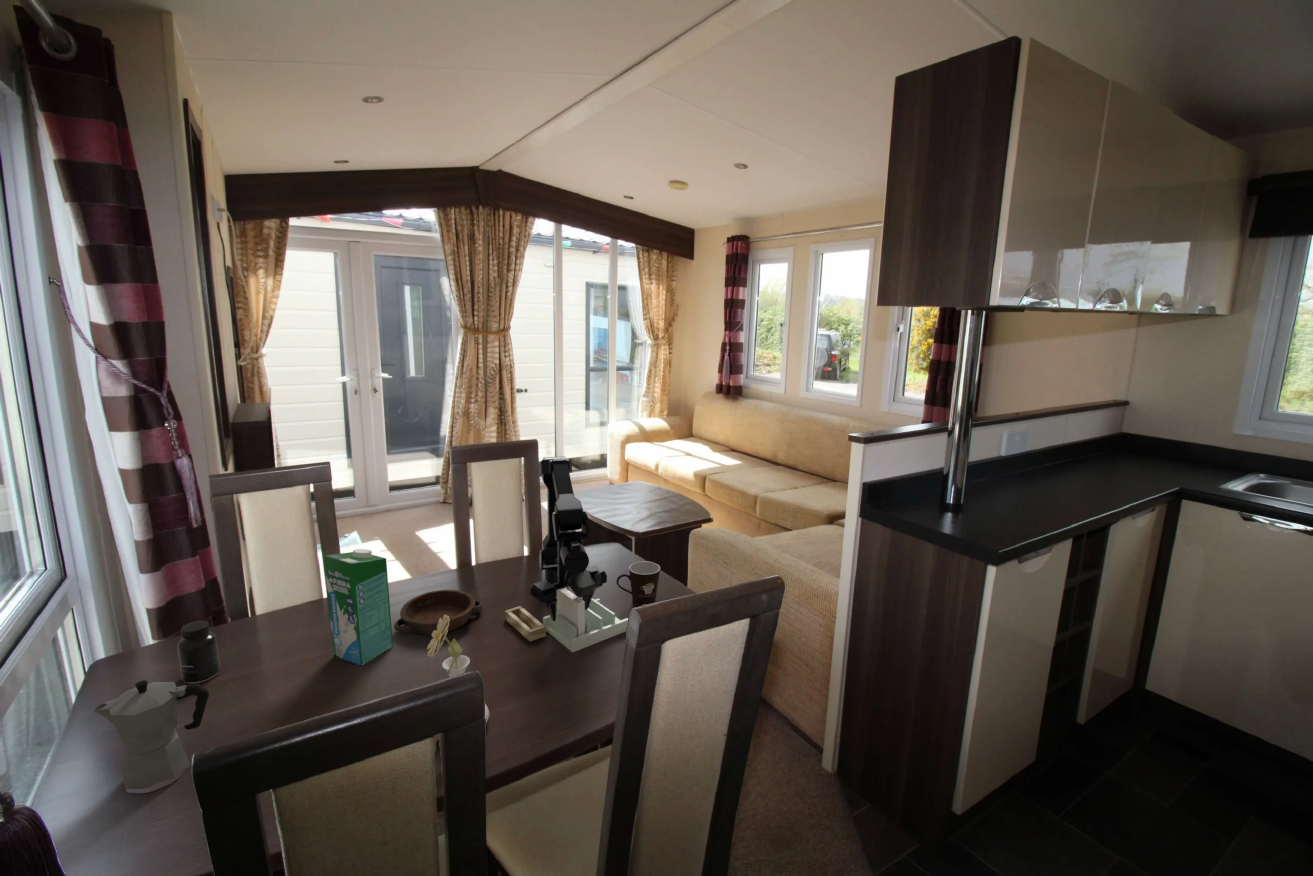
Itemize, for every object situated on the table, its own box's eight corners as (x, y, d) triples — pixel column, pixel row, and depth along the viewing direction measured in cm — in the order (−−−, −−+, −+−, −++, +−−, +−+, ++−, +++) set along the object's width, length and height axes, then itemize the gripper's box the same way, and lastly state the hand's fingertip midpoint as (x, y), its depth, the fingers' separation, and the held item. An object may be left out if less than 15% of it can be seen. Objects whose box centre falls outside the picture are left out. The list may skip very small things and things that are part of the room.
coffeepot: (97, 806, 98) (77, 708, 94) (119, 766, 107) (101, 675, 103) (212, 778, 104) (197, 685, 100) (224, 743, 113) (211, 655, 109)
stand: (505, 619, 159) (505, 610, 158) (520, 614, 161) (520, 605, 161) (529, 641, 149) (529, 632, 148) (545, 636, 151) (545, 626, 151)
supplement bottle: (179, 689, 128) (170, 637, 125) (185, 671, 134) (177, 621, 131) (218, 680, 131) (211, 629, 128) (223, 663, 137) (216, 615, 134)
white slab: (557, 624, 155) (556, 588, 153) (563, 622, 156) (562, 586, 154) (578, 641, 147) (578, 603, 145) (584, 639, 148) (584, 601, 146)
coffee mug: (660, 594, 174) (661, 562, 172) (657, 609, 166) (658, 575, 164) (620, 592, 175) (620, 559, 173) (615, 606, 167) (615, 572, 165)
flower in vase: (441, 705, 125) (434, 593, 119) (496, 708, 124) (492, 595, 119) (414, 751, 112) (405, 627, 106) (476, 754, 111) (470, 630, 106)
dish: (385, 620, 157) (384, 602, 156) (469, 597, 170) (468, 581, 169) (404, 651, 144) (403, 632, 143) (493, 624, 157) (493, 606, 156)
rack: (543, 628, 155) (542, 610, 154) (598, 608, 166) (598, 591, 165) (572, 652, 144) (572, 633, 143) (629, 629, 155) (629, 612, 154)
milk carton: (393, 647, 145) (385, 548, 140) (361, 666, 137) (351, 563, 132) (366, 637, 149) (358, 541, 143) (333, 656, 141) (323, 555, 135)
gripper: (552, 578, 136) (553, 641, 139) (620, 557, 147) (619, 616, 151) (528, 561, 144) (530, 621, 147) (594, 543, 156) (594, 599, 159)
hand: (570, 614), depth 151 cm, fingers open, 9 cm apart
